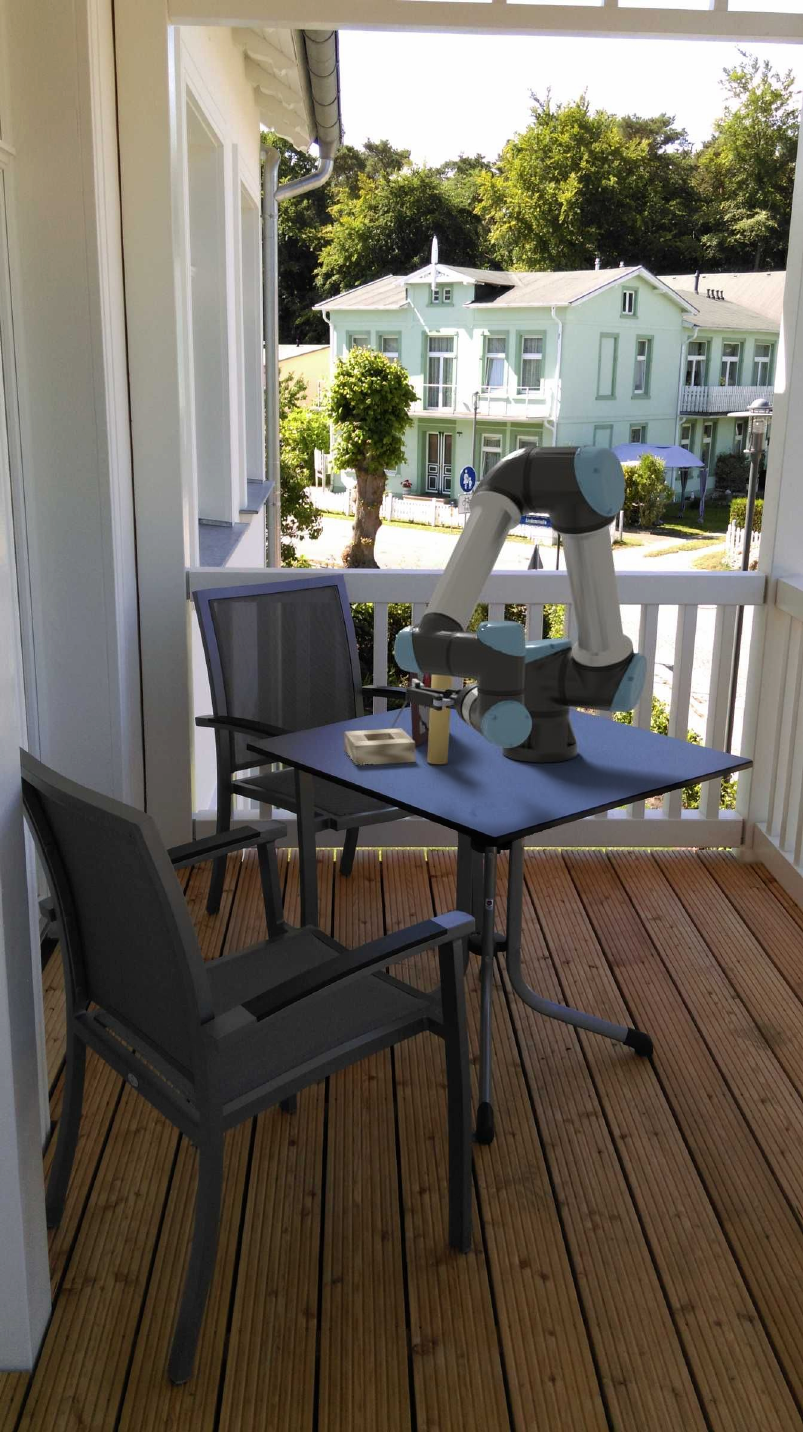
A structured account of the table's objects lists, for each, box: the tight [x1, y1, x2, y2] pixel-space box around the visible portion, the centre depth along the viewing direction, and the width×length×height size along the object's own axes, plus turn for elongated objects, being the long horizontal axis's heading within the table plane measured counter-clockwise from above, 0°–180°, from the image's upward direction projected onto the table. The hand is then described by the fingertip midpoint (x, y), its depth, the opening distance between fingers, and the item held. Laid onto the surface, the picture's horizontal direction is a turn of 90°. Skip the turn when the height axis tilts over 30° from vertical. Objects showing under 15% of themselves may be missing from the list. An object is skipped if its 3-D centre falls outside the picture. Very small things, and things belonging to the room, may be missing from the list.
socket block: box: [344, 727, 416, 766], centre depth 234 cm, size 12×12×4 cm
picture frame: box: [390, 622, 432, 748], centre depth 248 cm, size 17×10×25 cm, turn 158°
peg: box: [426, 675, 453, 765], centre depth 228 cm, size 4×4×18 cm
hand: (449, 684), depth 216 cm, fingers open, 13 cm apart
